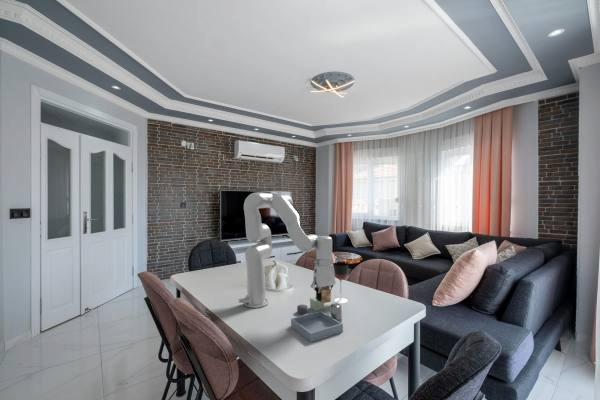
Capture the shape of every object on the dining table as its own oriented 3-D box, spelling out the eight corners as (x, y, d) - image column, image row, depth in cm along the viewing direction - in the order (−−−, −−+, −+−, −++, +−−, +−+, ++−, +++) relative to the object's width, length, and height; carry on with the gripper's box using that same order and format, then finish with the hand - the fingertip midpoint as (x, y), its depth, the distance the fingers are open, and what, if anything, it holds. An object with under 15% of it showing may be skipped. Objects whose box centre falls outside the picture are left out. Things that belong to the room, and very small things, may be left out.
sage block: (315, 311, 136) (315, 301, 136) (310, 307, 140) (310, 298, 140) (323, 308, 138) (323, 299, 138) (318, 305, 143) (318, 296, 143)
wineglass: (339, 304, 143) (339, 266, 144) (330, 299, 151) (329, 263, 151) (351, 301, 147) (351, 264, 147) (342, 296, 155) (341, 261, 155)
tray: (310, 342, 106) (310, 333, 106) (291, 326, 119) (290, 318, 119) (342, 331, 114) (342, 323, 114) (320, 317, 128) (320, 310, 128)
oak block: (323, 303, 128) (323, 290, 128) (315, 299, 133) (316, 286, 133) (330, 301, 130) (331, 289, 130) (323, 297, 135) (323, 285, 135)
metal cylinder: (335, 324, 121) (335, 308, 121) (328, 320, 125) (328, 305, 125) (343, 321, 123) (343, 306, 123) (337, 317, 127) (336, 302, 128)
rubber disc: (300, 315, 131) (300, 309, 131) (295, 312, 135) (295, 305, 135) (309, 313, 133) (309, 307, 133) (304, 309, 138) (304, 303, 138)
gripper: (313, 265, 124) (313, 305, 124) (342, 261, 133) (341, 298, 133) (305, 262, 130) (304, 299, 131) (333, 258, 139) (332, 294, 139)
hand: (323, 298), depth 132 cm, fingers closed on oak block, 4 cm apart
